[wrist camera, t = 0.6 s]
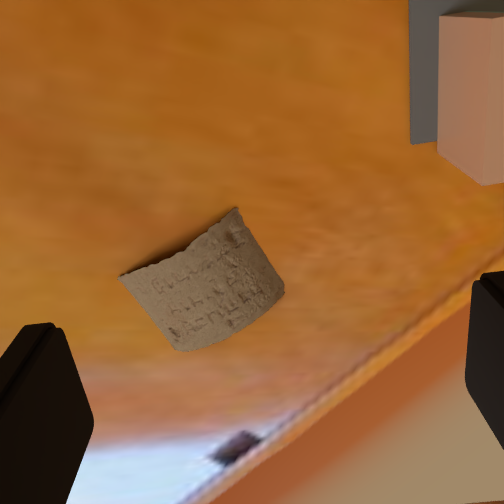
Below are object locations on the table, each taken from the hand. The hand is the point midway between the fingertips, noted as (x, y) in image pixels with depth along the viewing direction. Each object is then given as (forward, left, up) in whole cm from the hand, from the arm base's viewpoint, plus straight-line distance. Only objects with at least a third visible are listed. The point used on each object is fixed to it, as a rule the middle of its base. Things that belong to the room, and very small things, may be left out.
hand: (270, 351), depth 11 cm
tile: (+1, +15, -29) cm, 33 cm away
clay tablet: (+15, -7, -30) cm, 34 cm away
